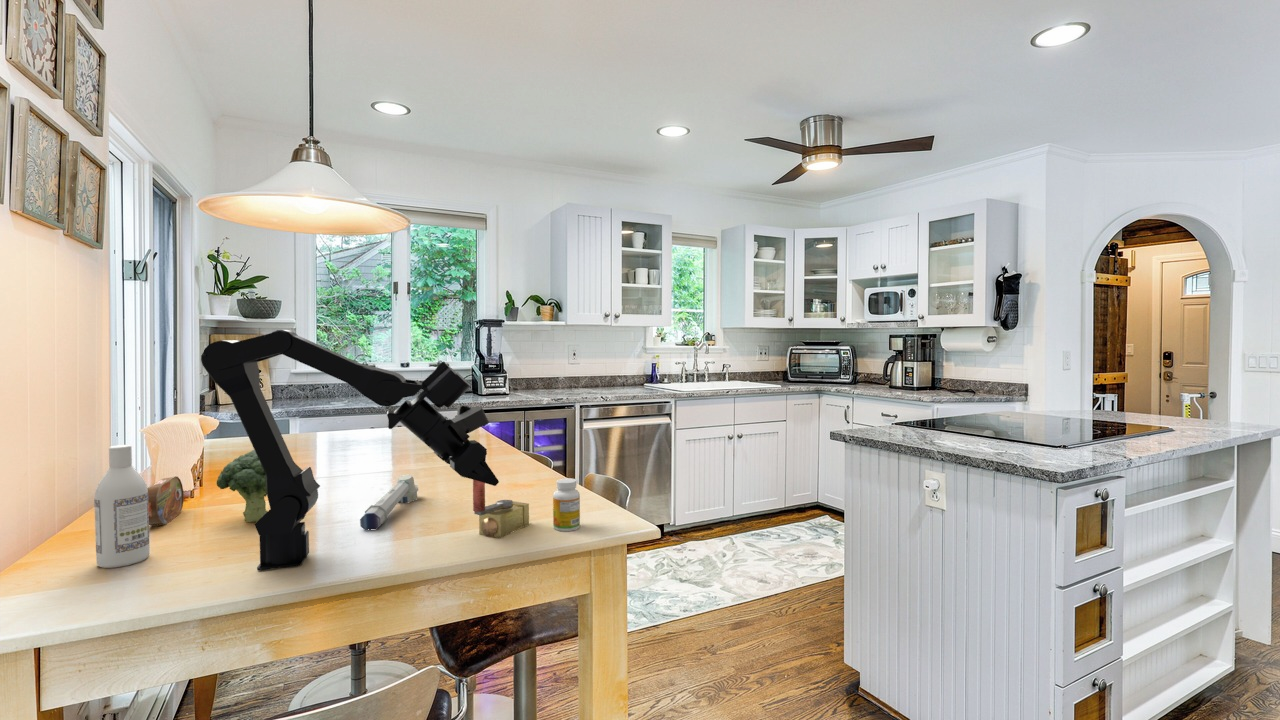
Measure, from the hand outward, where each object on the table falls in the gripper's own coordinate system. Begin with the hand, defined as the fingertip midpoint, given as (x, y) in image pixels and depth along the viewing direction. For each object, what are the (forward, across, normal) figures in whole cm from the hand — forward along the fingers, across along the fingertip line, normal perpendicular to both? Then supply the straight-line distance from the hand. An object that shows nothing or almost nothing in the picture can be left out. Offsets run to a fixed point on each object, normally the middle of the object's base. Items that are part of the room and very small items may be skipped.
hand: (490, 478), depth 114 cm
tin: (-32, +46, +48) cm, 74 cm away
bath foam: (-33, +20, +50) cm, 63 cm away
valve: (+11, +4, +5) cm, 13 cm away
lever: (+6, +2, +4) cm, 8 cm away
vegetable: (-20, +36, +37) cm, 55 cm away
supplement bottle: (+19, -1, -2) cm, 19 cm away
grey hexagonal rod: (-1, +28, +19) cm, 33 cm away
